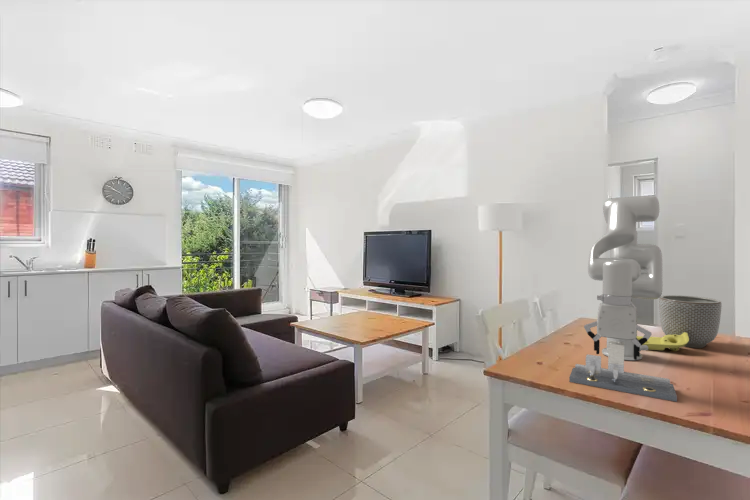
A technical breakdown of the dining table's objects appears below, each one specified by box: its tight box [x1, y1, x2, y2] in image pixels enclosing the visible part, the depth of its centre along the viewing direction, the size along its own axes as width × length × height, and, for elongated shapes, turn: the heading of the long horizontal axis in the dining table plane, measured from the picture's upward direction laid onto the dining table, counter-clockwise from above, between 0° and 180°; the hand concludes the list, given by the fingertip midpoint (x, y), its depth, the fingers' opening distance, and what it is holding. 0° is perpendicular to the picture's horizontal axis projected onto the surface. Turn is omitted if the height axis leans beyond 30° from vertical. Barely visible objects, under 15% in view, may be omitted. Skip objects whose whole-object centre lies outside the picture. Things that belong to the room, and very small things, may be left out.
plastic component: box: [637, 332, 689, 352], centre depth 149 cm, size 20×7×10 cm
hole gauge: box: [568, 353, 678, 403], centre depth 112 cm, size 26×10×7 cm, turn 56°
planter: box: [658, 294, 723, 349], centre depth 153 cm, size 20×20×19 cm
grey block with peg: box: [607, 341, 625, 382], centre depth 112 cm, size 4×8×10 cm, turn 146°
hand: (616, 355), depth 114 cm, fingers open, 9 cm apart
